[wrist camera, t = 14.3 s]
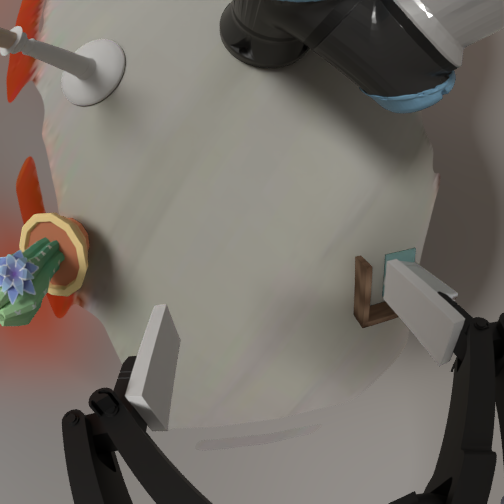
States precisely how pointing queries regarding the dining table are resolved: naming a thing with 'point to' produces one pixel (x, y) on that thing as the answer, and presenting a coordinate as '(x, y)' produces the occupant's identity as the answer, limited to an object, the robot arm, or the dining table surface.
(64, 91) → the candlestick
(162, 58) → the dining table surface
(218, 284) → the dining table surface
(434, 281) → the skincare box
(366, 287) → the wooden corner bracket
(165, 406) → the robot arm
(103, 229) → the dining table surface
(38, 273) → the potted cactus
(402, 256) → the pad
